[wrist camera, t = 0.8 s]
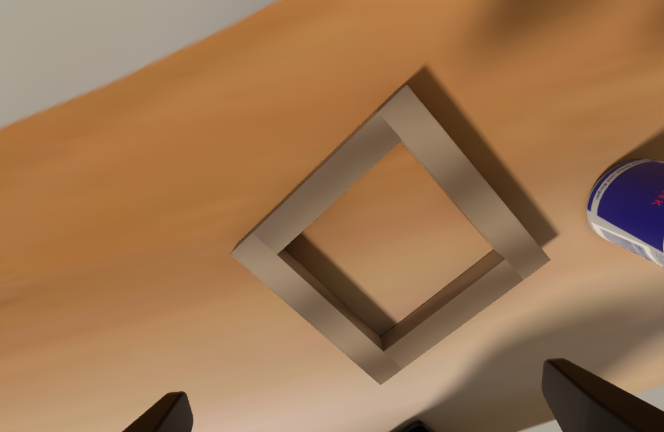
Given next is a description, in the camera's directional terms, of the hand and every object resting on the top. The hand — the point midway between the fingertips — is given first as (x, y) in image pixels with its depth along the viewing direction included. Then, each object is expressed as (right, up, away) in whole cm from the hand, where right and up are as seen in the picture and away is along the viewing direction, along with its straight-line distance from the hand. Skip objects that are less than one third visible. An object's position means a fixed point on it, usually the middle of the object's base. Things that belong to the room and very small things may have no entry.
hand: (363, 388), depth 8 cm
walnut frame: (+3, +2, +14) cm, 14 cm away
